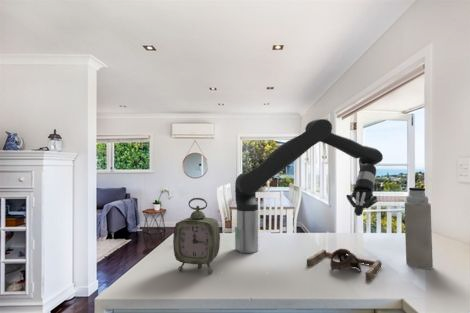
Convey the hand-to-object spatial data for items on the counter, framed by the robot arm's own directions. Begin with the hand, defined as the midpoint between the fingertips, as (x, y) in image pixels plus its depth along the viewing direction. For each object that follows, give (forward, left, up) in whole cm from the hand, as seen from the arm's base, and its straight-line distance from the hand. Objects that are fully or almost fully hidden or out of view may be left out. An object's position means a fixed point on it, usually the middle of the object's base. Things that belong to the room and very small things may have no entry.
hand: (357, 214), depth 113 cm
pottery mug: (-19, -13, -16) cm, 28 cm away
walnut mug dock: (-17, -10, -16) cm, 25 cm away
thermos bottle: (+9, -19, -16) cm, 27 cm away
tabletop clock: (-67, +5, -16) cm, 69 cm away
